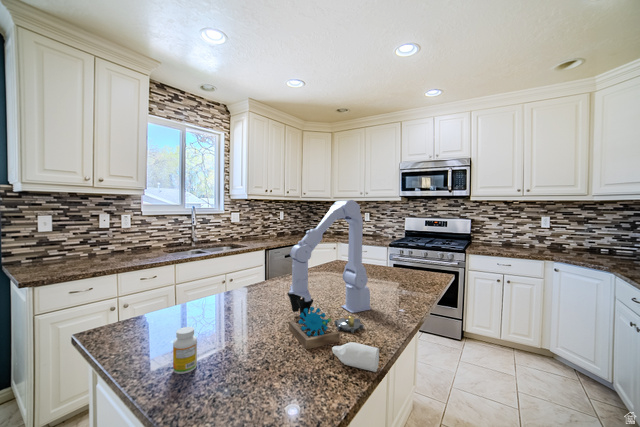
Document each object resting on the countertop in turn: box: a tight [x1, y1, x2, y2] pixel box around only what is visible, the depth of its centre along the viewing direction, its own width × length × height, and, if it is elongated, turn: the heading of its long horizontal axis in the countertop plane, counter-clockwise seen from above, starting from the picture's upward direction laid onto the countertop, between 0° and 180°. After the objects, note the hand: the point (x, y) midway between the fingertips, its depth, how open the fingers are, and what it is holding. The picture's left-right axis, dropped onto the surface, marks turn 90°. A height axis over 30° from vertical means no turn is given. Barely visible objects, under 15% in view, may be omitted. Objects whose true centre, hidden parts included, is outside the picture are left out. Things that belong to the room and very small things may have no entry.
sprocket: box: [334, 315, 365, 334], centre depth 95 cm, size 10×9×4 cm
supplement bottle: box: [172, 326, 198, 375], centre depth 70 cm, size 5×5×10 cm
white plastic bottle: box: [331, 341, 380, 373], centre depth 73 cm, size 6×12×6 cm, turn 68°
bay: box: [288, 320, 341, 350], centre depth 89 cm, size 11×14×3 cm
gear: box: [298, 306, 332, 337], centre depth 92 cm, size 11×6×10 cm
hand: (299, 315), depth 102 cm, fingers open, 7 cm apart
